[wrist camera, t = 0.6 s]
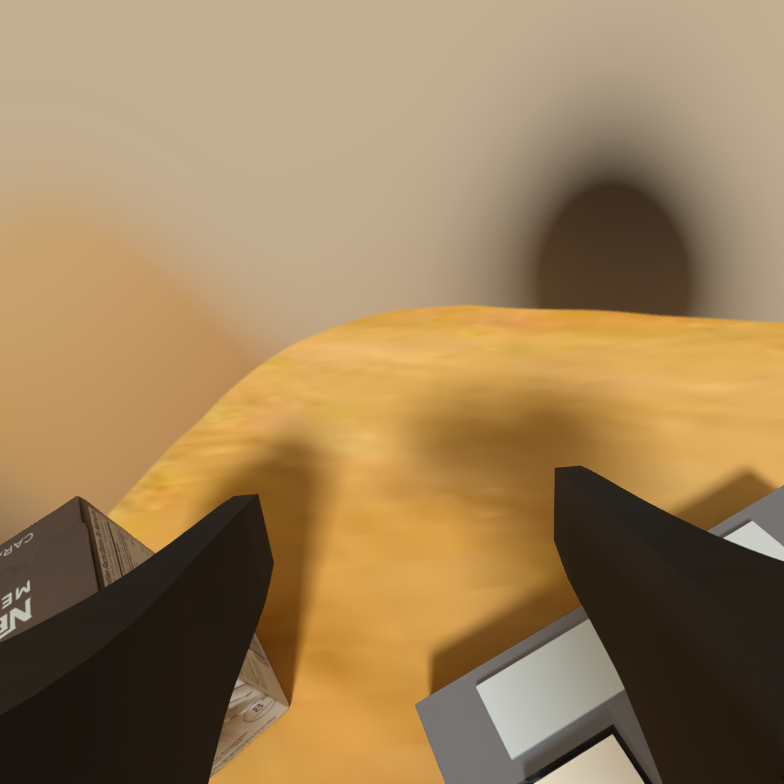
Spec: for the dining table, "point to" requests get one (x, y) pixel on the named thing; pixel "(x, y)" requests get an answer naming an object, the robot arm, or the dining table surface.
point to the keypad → (558, 690)
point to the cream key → (596, 767)
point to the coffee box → (96, 571)
